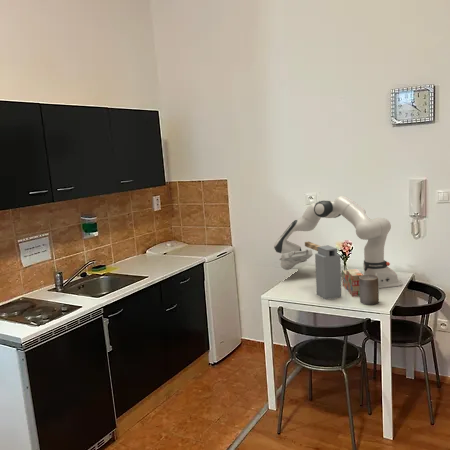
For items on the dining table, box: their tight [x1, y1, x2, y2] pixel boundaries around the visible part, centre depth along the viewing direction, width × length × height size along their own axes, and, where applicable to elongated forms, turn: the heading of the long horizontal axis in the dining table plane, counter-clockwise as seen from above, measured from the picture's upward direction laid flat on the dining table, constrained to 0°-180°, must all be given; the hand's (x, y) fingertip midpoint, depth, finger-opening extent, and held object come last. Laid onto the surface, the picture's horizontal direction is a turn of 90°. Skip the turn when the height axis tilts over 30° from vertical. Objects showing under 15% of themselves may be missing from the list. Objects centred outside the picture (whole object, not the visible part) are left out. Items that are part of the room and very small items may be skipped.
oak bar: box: [304, 241, 320, 252], centre depth 263 cm, size 22×3×3 cm, turn 17°
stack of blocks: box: [341, 268, 364, 297], centre depth 259 cm, size 21×6×12 cm, turn 0°
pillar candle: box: [359, 274, 380, 306], centre depth 238 cm, size 10×10×15 cm
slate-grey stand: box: [314, 245, 342, 300], centre depth 251 cm, size 10×10×28 cm
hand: (301, 251), depth 282 cm, fingers open, 8 cm apart
